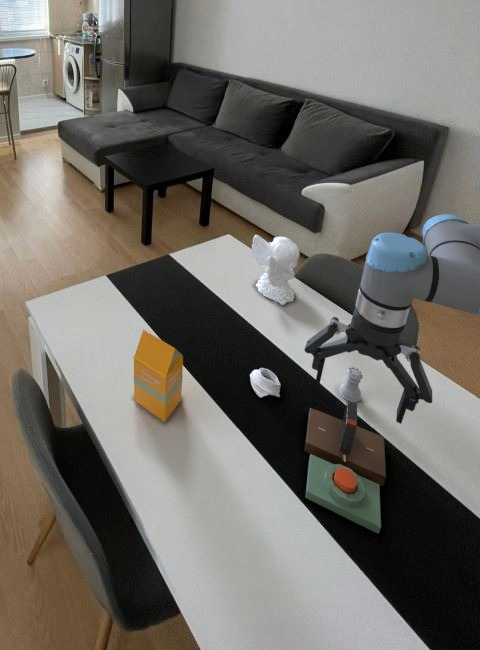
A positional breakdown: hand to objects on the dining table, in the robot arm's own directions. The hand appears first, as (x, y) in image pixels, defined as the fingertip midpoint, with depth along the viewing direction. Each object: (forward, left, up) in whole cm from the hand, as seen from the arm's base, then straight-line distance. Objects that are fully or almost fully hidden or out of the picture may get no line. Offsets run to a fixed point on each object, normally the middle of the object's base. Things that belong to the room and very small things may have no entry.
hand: (356, 398), depth 84 cm
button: (0, +8, -14) cm, 16 cm away
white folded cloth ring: (+17, -10, -18) cm, 26 cm away
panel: (0, -2, -17) cm, 17 cm away
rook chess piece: (-1, -17, -18) cm, 24 cm away
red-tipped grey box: (0, -2, -14) cm, 14 cm away
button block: (0, +8, -17) cm, 19 cm away
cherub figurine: (+20, -46, -18) cm, 53 cm away
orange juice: (+39, +6, -18) cm, 43 cm away
